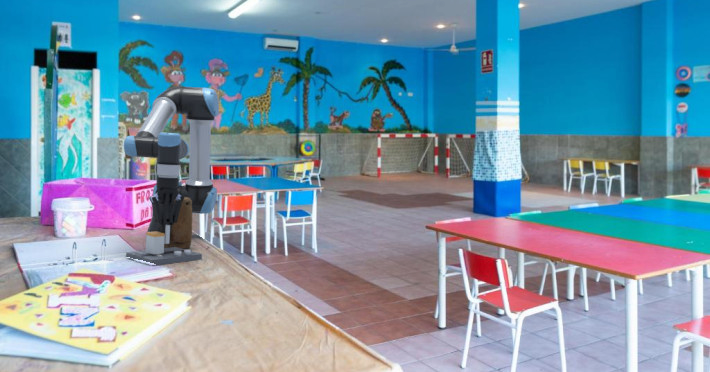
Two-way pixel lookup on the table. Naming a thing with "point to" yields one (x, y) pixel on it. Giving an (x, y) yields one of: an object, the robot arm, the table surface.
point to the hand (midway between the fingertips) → (165, 243)
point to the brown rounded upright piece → (182, 227)
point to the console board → (166, 256)
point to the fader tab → (155, 242)
